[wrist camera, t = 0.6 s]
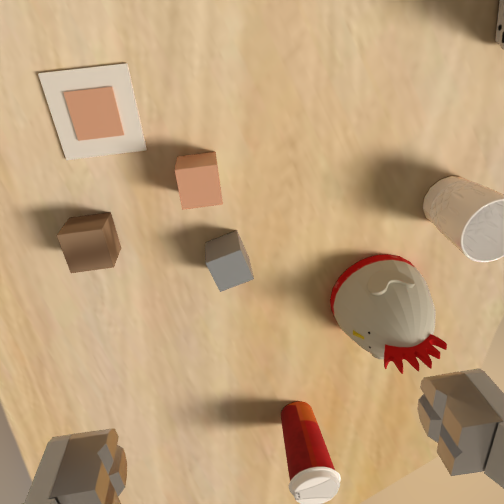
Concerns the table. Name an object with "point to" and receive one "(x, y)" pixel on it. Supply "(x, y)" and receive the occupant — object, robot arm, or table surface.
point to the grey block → (228, 261)
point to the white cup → (468, 217)
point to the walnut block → (89, 242)
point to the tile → (94, 111)
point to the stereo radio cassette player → (500, 25)
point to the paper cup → (307, 456)
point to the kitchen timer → (387, 310)
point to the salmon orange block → (198, 180)
